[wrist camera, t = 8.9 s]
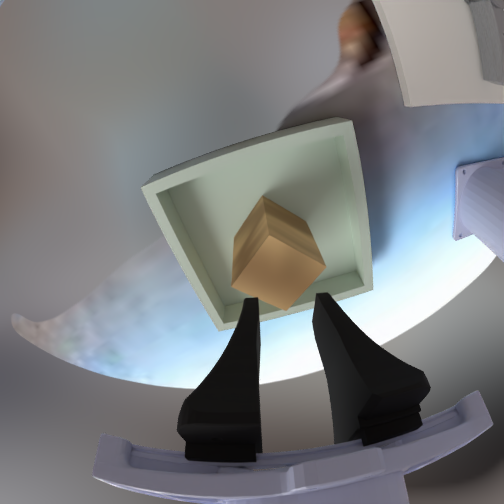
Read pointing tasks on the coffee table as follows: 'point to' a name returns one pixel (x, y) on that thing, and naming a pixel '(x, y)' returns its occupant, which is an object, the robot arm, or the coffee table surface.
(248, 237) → the block
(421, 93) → the board
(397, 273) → the coffee table surface
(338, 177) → the tray
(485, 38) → the crank
